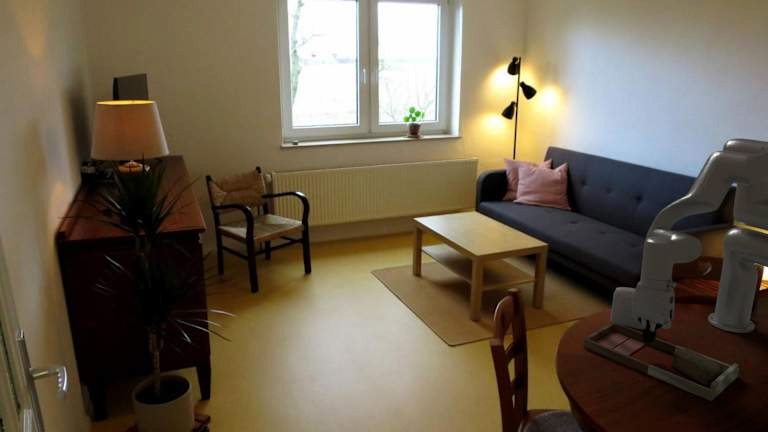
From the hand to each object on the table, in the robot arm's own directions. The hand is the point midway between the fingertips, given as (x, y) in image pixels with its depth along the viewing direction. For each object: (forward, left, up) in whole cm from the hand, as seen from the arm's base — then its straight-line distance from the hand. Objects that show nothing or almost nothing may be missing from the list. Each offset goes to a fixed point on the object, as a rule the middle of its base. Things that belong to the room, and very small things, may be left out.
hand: (648, 341), depth 158 cm
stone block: (0, +13, -5) cm, 14 cm away
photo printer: (-14, -13, -5) cm, 20 cm away
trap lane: (+1, +3, -5) cm, 6 cm away
